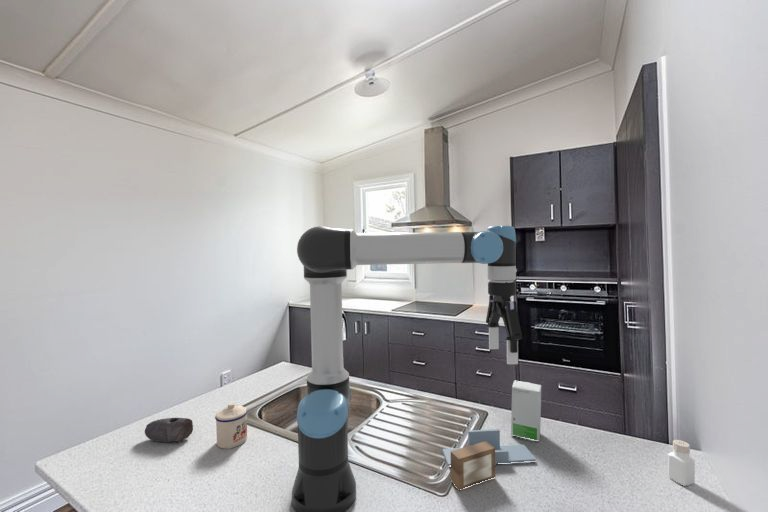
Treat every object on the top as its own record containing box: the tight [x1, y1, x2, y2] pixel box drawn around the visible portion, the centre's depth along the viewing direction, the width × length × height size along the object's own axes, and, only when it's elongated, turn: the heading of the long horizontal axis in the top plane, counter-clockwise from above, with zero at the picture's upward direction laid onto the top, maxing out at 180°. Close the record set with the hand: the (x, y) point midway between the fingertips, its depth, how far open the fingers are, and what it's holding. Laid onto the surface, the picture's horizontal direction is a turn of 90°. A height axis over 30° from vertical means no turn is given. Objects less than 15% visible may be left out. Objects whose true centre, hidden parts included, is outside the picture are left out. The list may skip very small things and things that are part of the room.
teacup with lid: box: [214, 402, 248, 449], centre depth 110 cm, size 12×9×12 cm
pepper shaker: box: [667, 439, 696, 487], centre depth 87 cm, size 4×4×10 cm
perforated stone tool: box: [144, 417, 194, 443], centre depth 110 cm, size 15×5×7 cm, turn 83°
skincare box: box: [510, 379, 542, 441], centre depth 109 cm, size 8×7×16 cm
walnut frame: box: [450, 441, 496, 491], centre depth 89 cm, size 11×4×8 cm, turn 113°
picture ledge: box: [442, 428, 537, 467], centre depth 98 cm, size 24×7×6 cm, turn 93°
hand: (502, 356), depth 99 cm, fingers open, 13 cm apart
